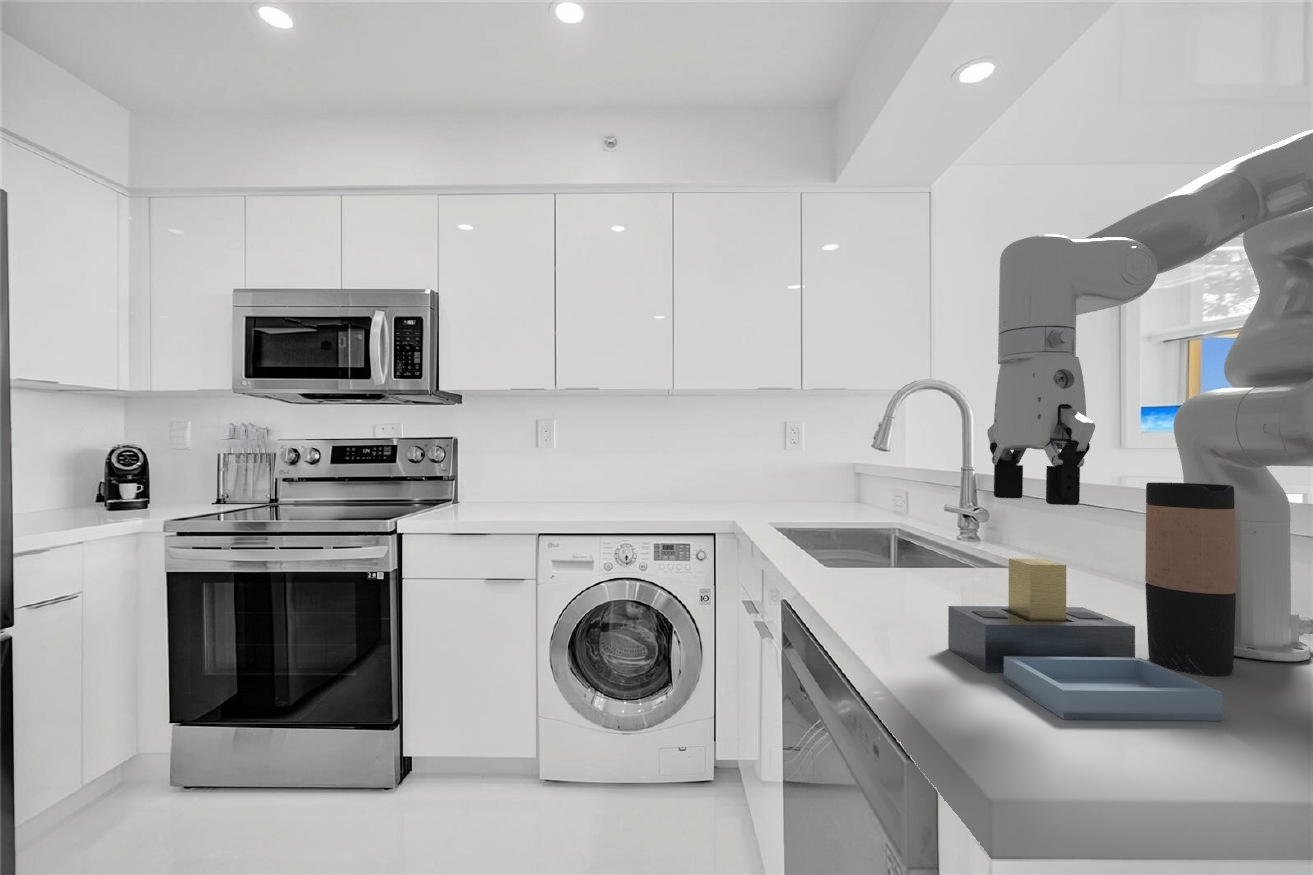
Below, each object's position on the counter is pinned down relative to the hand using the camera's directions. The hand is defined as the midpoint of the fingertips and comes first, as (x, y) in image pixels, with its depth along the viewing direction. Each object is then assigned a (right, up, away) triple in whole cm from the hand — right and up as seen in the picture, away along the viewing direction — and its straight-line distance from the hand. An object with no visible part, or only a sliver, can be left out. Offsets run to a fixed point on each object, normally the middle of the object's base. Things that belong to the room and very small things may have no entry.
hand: (1033, 501), depth 70 cm
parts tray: (0, -18, -11) cm, 21 cm away
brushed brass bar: (0, -16, 0) cm, 16 cm away
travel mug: (+17, -18, -1) cm, 25 cm away
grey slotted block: (0, -18, 0) cm, 18 cm away
